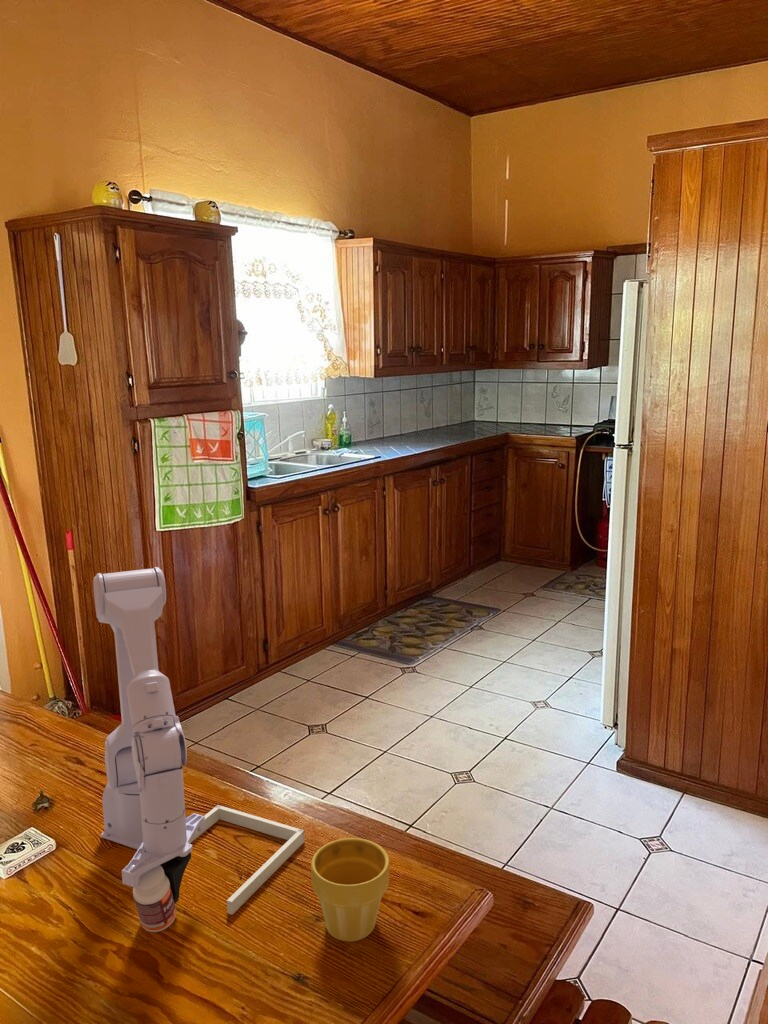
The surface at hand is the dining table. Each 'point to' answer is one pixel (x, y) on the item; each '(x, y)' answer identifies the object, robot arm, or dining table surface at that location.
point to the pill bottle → (154, 900)
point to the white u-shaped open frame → (264, 826)
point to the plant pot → (350, 885)
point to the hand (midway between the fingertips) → (169, 901)
